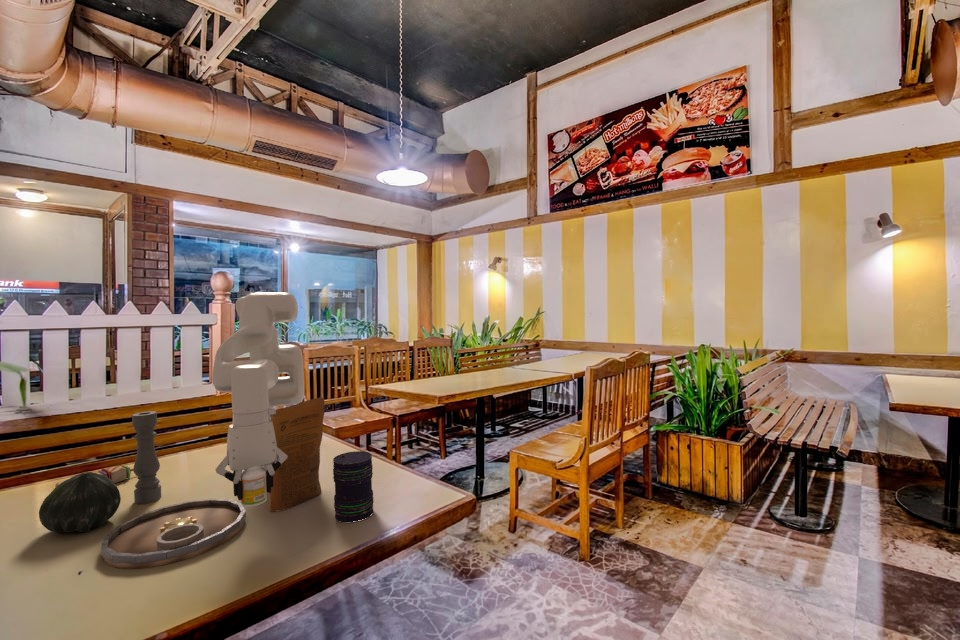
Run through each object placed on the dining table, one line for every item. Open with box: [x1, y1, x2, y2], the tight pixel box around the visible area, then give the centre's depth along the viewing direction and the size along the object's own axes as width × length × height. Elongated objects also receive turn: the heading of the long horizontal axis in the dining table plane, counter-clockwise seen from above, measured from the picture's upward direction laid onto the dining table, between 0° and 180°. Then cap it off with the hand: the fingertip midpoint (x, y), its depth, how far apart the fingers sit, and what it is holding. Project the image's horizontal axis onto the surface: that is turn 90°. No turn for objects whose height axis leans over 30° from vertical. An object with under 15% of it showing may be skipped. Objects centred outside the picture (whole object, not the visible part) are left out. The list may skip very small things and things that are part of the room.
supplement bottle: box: [240, 466, 268, 508], centre depth 103 cm, size 5×5×10 cm
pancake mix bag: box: [269, 396, 325, 512], centre depth 123 cm, size 7×19×28 cm, turn 148°
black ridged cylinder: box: [332, 450, 375, 523], centre depth 114 cm, size 10×10×15 cm
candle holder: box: [131, 410, 162, 505], centre depth 127 cm, size 6×6×25 cm
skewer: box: [54, 464, 134, 489], centre depth 139 cm, size 21×6×5 cm, turn 151°
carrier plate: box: [102, 506, 246, 570], centre depth 106 cm, size 28×28×4 cm
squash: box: [38, 471, 122, 534], centre depth 111 cm, size 14×15×15 cm
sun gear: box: [160, 517, 197, 534], centre depth 106 cm, size 7×7×2 cm
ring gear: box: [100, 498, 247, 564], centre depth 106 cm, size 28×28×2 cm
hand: (254, 493), depth 103 cm, fingers closed on supplement bottle, 5 cm apart
